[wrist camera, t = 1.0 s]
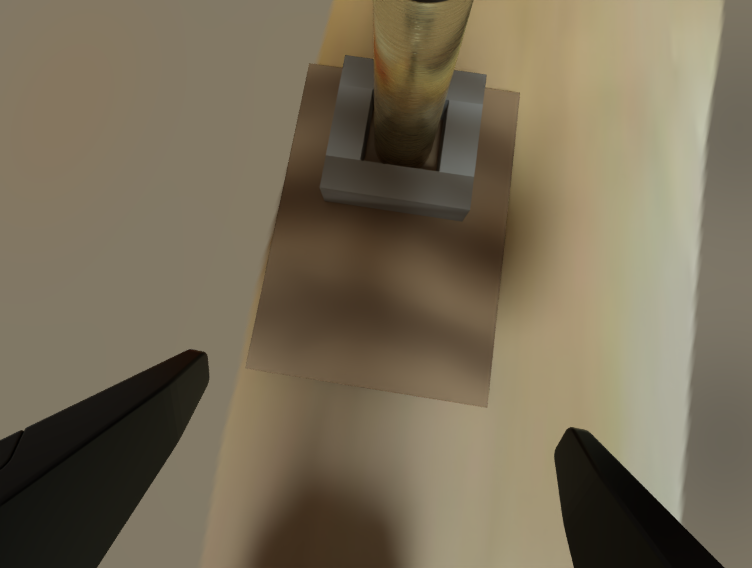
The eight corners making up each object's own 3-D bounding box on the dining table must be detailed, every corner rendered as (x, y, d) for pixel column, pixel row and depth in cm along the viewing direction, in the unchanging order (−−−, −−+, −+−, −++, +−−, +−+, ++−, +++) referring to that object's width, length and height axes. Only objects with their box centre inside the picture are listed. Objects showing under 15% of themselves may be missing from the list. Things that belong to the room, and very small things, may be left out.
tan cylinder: (429, 177, 23) (490, -21, 11) (368, 168, 23) (359, -39, 11) (437, 121, 24) (504, -127, 11) (378, 113, 24) (379, -143, 11)
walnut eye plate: (482, 405, 22) (498, 413, 19) (250, 367, 23) (232, 370, 20) (514, 102, 26) (532, 70, 23) (311, 74, 26) (303, 39, 23)
